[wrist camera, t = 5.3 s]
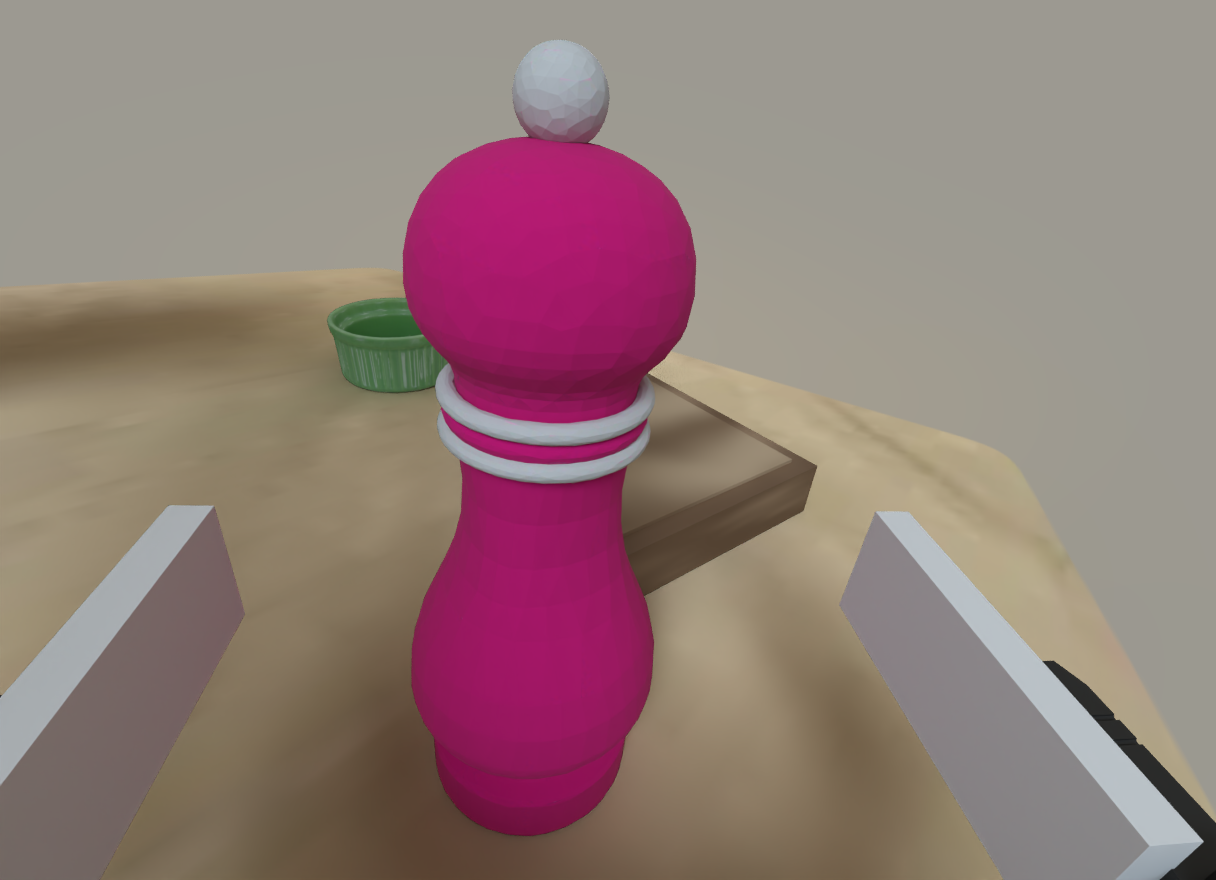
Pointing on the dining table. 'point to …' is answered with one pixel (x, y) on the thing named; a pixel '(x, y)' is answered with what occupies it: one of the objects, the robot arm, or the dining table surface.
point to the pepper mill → (542, 445)
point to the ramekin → (383, 346)
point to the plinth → (702, 488)
